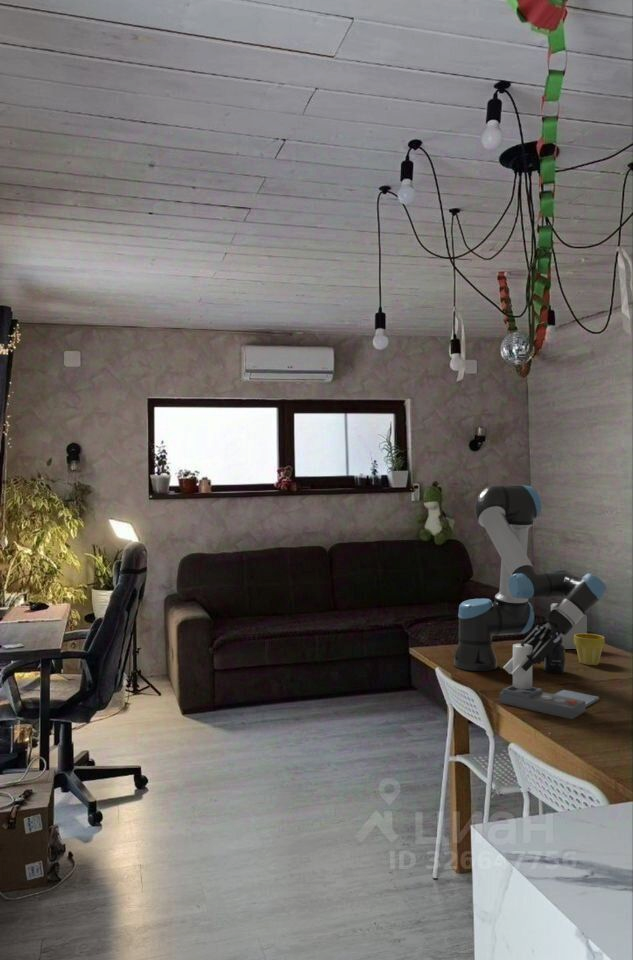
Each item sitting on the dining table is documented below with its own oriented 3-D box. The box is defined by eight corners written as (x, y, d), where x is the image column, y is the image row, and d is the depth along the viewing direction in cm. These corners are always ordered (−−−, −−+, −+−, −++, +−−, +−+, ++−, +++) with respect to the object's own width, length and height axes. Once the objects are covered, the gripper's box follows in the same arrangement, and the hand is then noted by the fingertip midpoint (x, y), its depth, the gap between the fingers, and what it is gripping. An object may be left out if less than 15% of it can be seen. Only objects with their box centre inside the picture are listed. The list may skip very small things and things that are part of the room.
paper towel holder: (509, 686, 208) (509, 640, 208) (518, 682, 212) (518, 637, 212) (526, 690, 204) (527, 643, 204) (535, 686, 208) (535, 640, 208)
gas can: (590, 647, 279) (590, 584, 279) (593, 650, 274) (593, 586, 274) (550, 646, 281) (550, 583, 281) (553, 649, 276) (553, 585, 276)
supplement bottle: (555, 675, 238) (554, 639, 238) (540, 670, 244) (539, 636, 244) (569, 672, 241) (569, 637, 241) (554, 668, 247) (554, 634, 247)
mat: (547, 700, 210) (547, 697, 210) (563, 692, 218) (563, 689, 218) (584, 708, 203) (584, 705, 203) (599, 699, 211) (599, 696, 211)
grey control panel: (499, 702, 208) (499, 689, 208) (513, 695, 215) (513, 682, 215) (572, 719, 193) (572, 704, 193) (585, 711, 200) (585, 697, 200)
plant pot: (597, 659, 260) (597, 632, 260) (609, 666, 250) (609, 638, 250) (569, 659, 260) (569, 633, 260) (581, 666, 249) (580, 639, 249)
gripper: (587, 632, 200) (531, 692, 199) (558, 619, 219) (507, 673, 217) (569, 614, 200) (513, 673, 198) (541, 603, 218) (490, 657, 216)
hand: (510, 673), depth 208 cm, fingers closed on paper towel holder, 5 cm apart
